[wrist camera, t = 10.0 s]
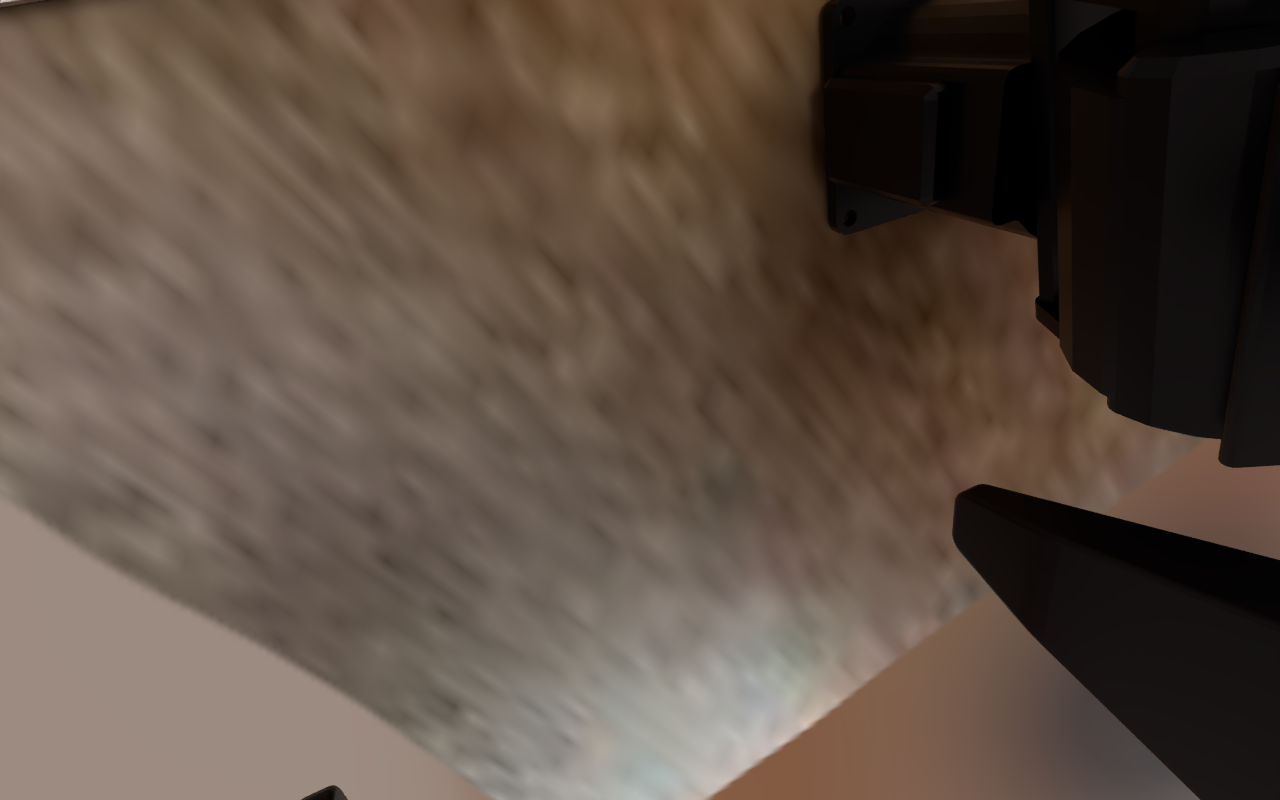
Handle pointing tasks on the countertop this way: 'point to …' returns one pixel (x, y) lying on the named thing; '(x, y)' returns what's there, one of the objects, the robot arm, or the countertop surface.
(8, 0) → the carrier plate
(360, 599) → the countertop surface
